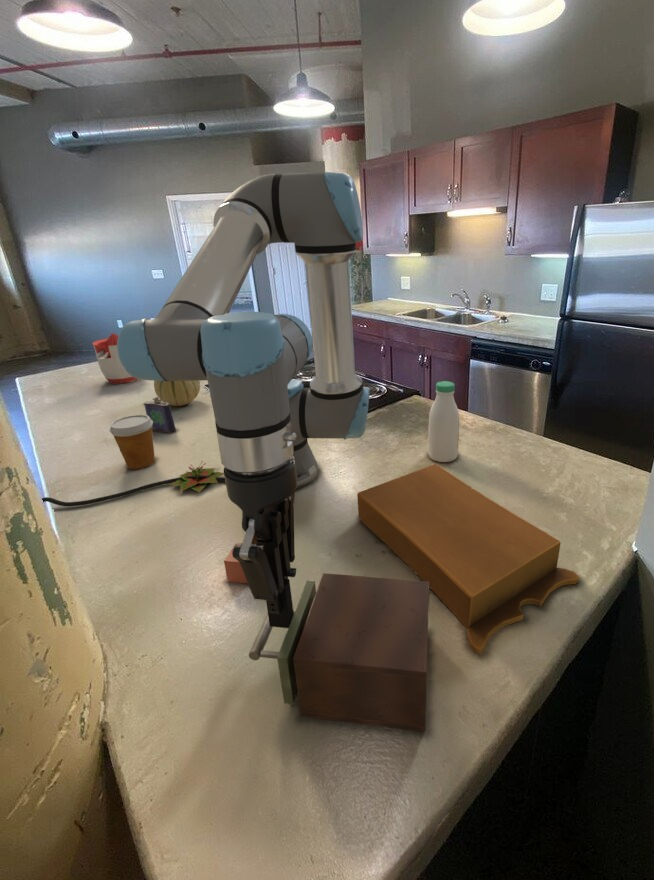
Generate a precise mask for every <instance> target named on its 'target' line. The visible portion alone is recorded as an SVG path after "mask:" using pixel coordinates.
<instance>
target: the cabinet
mask: <svg viewBox="0 0 654 880" xmlns="http://www.w3.org/2000/svg"><path fill="white" fill-rule="evenodd" d="M429 604H430V587H429V582H428V581H423V580H417V579H416V580H413V579H402V578H389V577H375V576H364V575H363V576H362V575H361V576H360V575H351V574H339V573H325V572H323V573H322V574H321V578H320V580H319V584H318V586H317V588H316V595H315V597H314V600H313V603H312V606H311V609H310V612H309V615H308V618H307V620H306V623H305V626H304V629H303V632H302V635H301V638H300V641H299V643H298V646H297V649H296V652H295V655H294V658H293V659H294V667H295V674H296V682H297V689H298V693H297V696H298V703H299V709H300V717H302V718H303V717H304V718H312V719H319V720H327V721H334V722H335V721H336V722H344V723H352V724H361V725H369V726H376V727H385V728H392V729H401V730H408V731H417V732H426V723H427V722H426V720H427V719H426V718H427V717H426V715H427V687H428V686H427V685H428V683H427V682H428V680H427V679H428V645H429V612H430V611H429V609H430V608H429V607H430V605H429Z"/></svg>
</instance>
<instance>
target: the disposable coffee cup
mask: <svg viewBox="0 0 654 880" xmlns="http://www.w3.org/2000/svg"><path fill="white" fill-rule="evenodd" d="M152 424H153V421H152V420H151V419H150V417H149V416H147V414H131V415H126V416H123V417H119V418H117V419H115V420H113V421H112V422H111V423H110V428H109V433H110V434H111V435H112V436H113V438H114V440H115V443H116V444H117V445H116V446H117V447H118V449H119V451H120V453H121V456H122V458H123V460H124V463H125V465H126V466H127V468H128V469H130V470H140V469H144V468H148V467H149V466H151V465H153V464H154V463H155V461H156V460H155V449H154V448H155V447H154V446H155V445H154V436H153V430H152Z"/></svg>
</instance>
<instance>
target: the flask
mask: <svg viewBox="0 0 654 880" xmlns="http://www.w3.org/2000/svg"><path fill="white" fill-rule="evenodd" d="M143 406H144V410H145V413H146V414H145V415H147V416H149V417H150V419H151V420H152V421H153V424H152V432H154V431H156V432H163V433H168V434H171V433H175V432H176V431H177V428H176V424H175V420H174V417H173V412H172V409H171V405H170V404H169V403H166V402H163V401H162V400H160V399H159V396H156V397H152V400H147V401H145V402H143Z"/></svg>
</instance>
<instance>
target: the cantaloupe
mask: <svg viewBox="0 0 654 880" xmlns="http://www.w3.org/2000/svg"><path fill="white" fill-rule="evenodd" d="M153 388H154V392H155V395H156V397H158V396H159V397H158V398H159V400H162V401H161V402H166V403H169V404H170V406H173V407H178V406H179V407H182V406H185V405H189V404H190V403H192V402H193V401H194V400H195V399H196V398H197V397H198V395H199V393H200V391H201V380H197V381H169V382H163V381H154V380H153Z"/></svg>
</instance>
